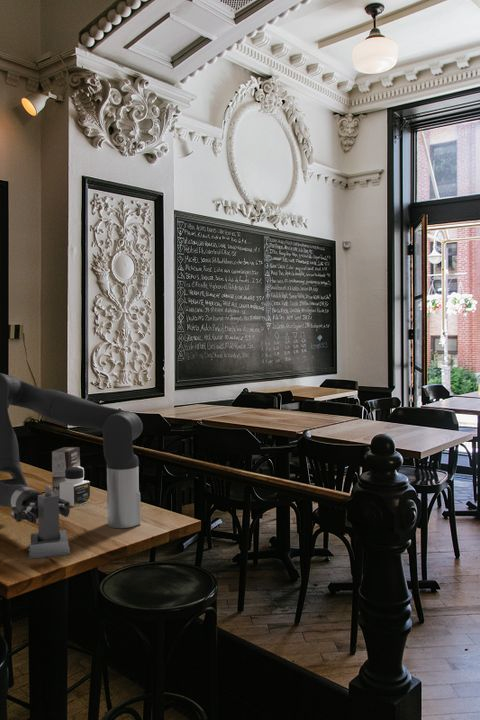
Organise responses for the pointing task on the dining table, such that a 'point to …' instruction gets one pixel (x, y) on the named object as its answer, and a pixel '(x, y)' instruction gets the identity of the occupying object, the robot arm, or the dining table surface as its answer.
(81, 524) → the dining table surface
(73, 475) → the medicine bottle
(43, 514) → the plug
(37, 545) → the socket
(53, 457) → the coffee box
